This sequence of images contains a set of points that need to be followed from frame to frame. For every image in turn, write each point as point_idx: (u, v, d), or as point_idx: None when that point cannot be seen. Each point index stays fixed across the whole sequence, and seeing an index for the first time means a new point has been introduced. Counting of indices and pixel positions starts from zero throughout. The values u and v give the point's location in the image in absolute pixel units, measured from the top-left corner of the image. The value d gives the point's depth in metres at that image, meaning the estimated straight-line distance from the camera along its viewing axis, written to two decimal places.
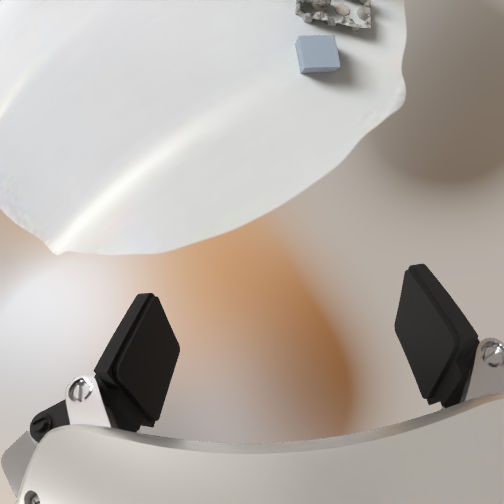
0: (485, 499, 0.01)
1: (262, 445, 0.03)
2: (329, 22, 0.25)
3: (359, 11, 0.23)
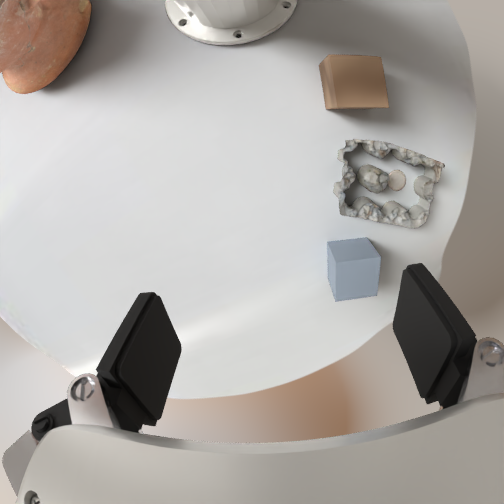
0: (485, 499, 0.01)
1: (262, 445, 0.03)
2: None
3: (418, 188, 0.23)
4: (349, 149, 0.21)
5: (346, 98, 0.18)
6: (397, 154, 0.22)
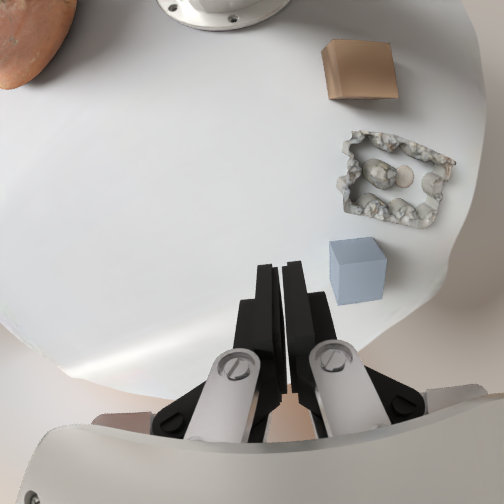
0: (485, 499, 0.01)
1: (263, 445, 0.03)
2: None
3: (426, 185, 0.21)
4: (355, 141, 0.19)
5: (352, 86, 0.15)
6: (406, 148, 0.20)
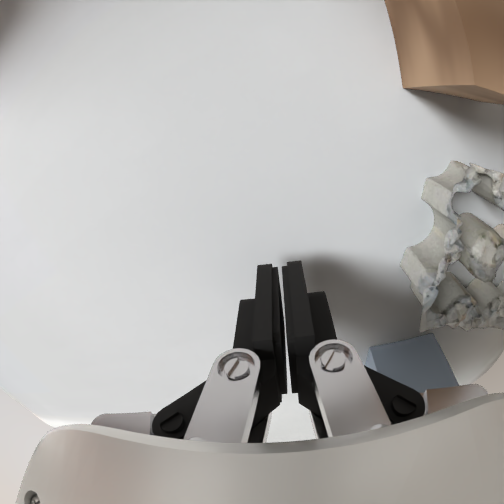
0: (485, 499, 0.01)
1: (263, 445, 0.03)
2: None
3: None
4: (464, 188, 0.07)
5: (491, 67, 0.03)
6: None
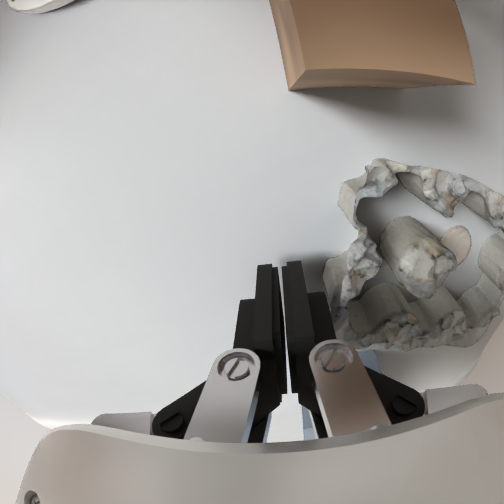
0: (485, 499, 0.01)
1: (262, 445, 0.03)
2: None
3: (490, 265, 0.10)
4: (373, 192, 0.08)
5: (340, 37, 0.04)
6: (474, 200, 0.08)
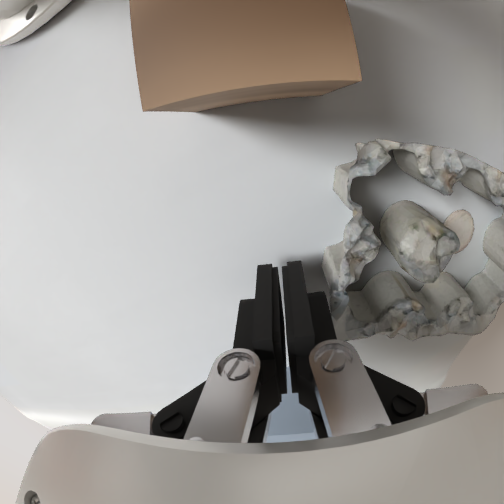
0: (485, 499, 0.01)
1: (262, 445, 0.03)
2: None
3: (495, 248, 0.09)
4: (366, 170, 0.07)
5: (176, 69, 0.04)
6: (473, 180, 0.08)
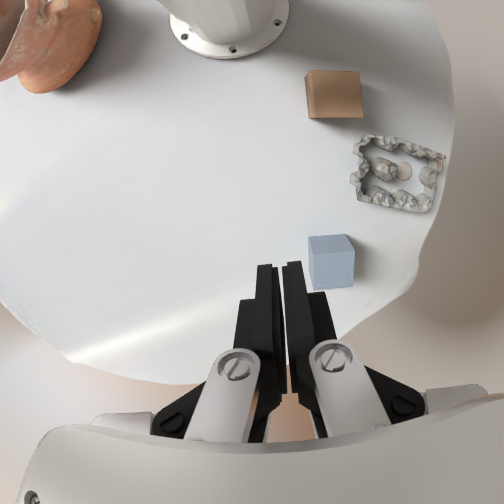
0: (485, 499, 0.01)
1: (263, 445, 0.03)
2: None
3: (423, 177, 0.26)
4: (363, 143, 0.24)
5: (324, 109, 0.21)
6: (404, 148, 0.24)
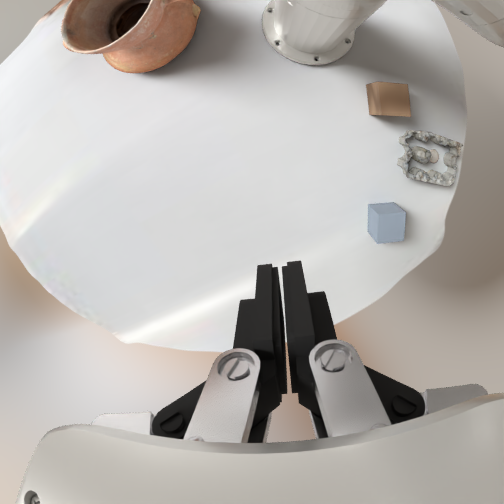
0: (485, 499, 0.01)
1: (263, 445, 0.03)
2: None
3: (447, 160, 0.32)
4: (408, 136, 0.31)
5: (386, 110, 0.27)
6: (434, 139, 0.31)
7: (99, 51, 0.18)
